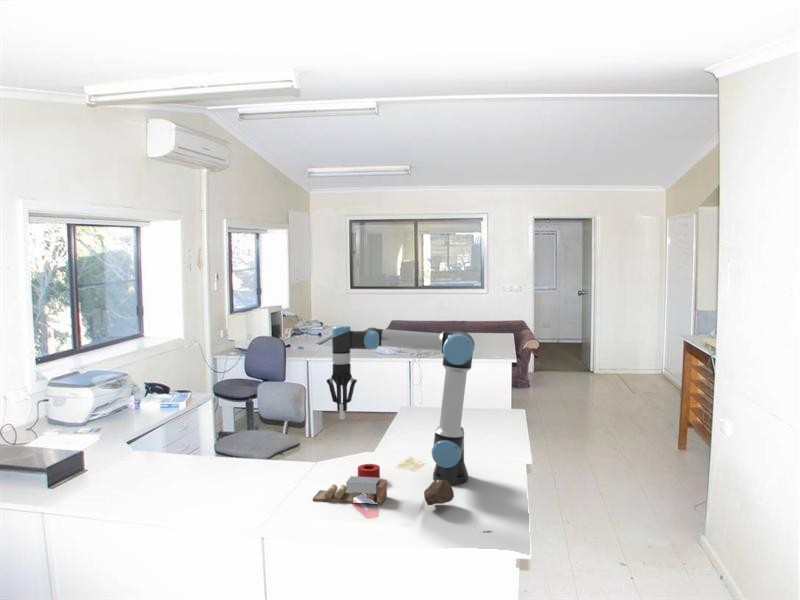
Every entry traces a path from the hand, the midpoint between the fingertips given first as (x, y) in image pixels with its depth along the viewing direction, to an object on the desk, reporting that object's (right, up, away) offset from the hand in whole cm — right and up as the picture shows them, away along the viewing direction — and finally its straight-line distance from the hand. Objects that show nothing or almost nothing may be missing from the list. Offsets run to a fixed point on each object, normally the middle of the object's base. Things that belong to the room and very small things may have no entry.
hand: (342, 418), depth 258 cm
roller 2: (+9, -26, -15) cm, 31 cm away
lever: (+10, -28, +9) cm, 31 cm away
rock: (+38, -29, -21) cm, 53 cm away
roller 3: (+12, -26, -16) cm, 33 cm away
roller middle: (0, -26, -13) cm, 29 cm away
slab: (+10, -25, -15) cm, 31 cm away
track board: (+4, -29, -14) cm, 33 cm away
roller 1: (-4, -26, -13) cm, 29 cm away
